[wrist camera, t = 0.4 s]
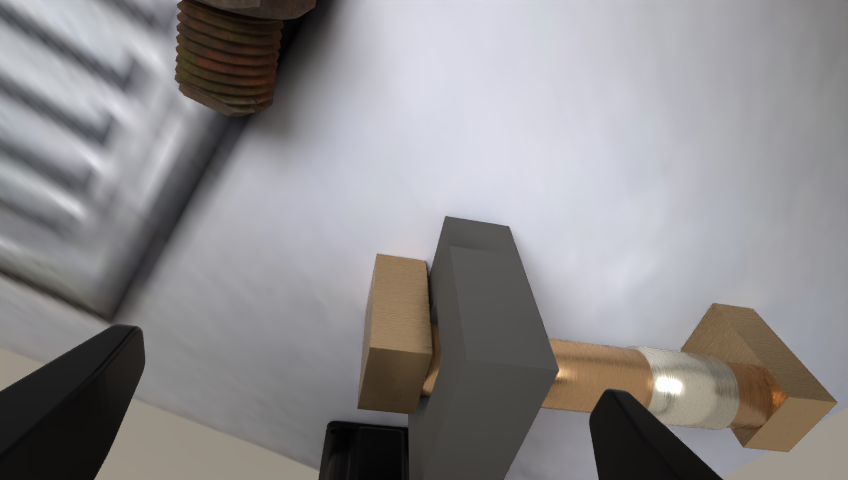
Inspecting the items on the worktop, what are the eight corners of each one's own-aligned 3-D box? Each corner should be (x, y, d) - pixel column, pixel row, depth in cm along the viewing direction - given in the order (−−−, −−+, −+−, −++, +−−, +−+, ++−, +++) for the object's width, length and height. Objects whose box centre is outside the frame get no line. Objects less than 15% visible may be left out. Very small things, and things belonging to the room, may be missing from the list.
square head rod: (753, 309, 26) (840, 405, 21) (718, 355, 28) (790, 455, 23) (376, 254, 23) (369, 349, 18) (366, 310, 25) (356, 411, 20)
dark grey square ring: (508, 226, 23) (559, 370, 15) (460, 364, 27) (481, 523, 20) (445, 216, 22) (466, 359, 15) (407, 358, 27) (409, 517, 20)
